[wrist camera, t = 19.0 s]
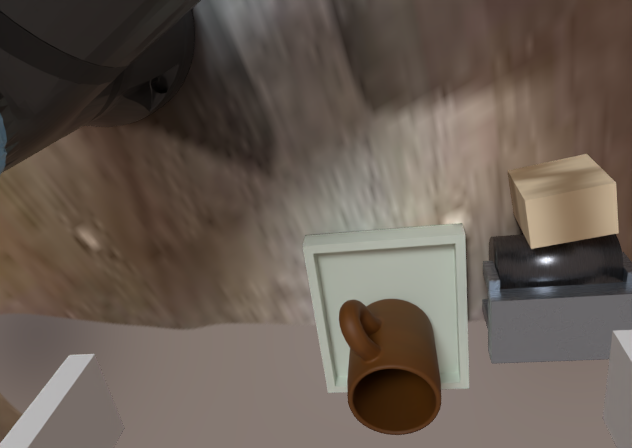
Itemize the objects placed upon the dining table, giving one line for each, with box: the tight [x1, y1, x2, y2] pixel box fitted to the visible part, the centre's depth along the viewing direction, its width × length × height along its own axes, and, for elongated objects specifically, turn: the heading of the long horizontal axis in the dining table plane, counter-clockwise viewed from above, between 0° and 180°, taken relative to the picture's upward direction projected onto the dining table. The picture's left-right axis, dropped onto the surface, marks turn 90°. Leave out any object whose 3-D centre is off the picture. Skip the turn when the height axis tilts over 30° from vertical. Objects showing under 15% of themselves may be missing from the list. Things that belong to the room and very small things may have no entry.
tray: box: [303, 223, 469, 393], centre depth 50 cm, size 14×17×2 cm
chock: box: [508, 154, 619, 249], centre depth 41 cm, size 6×4×6 cm, turn 106°
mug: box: [339, 299, 441, 435], centre depth 46 cm, size 12×8×9 cm, turn 31°
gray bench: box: [482, 234, 632, 363], centre depth 44 cm, size 11×9×7 cm
